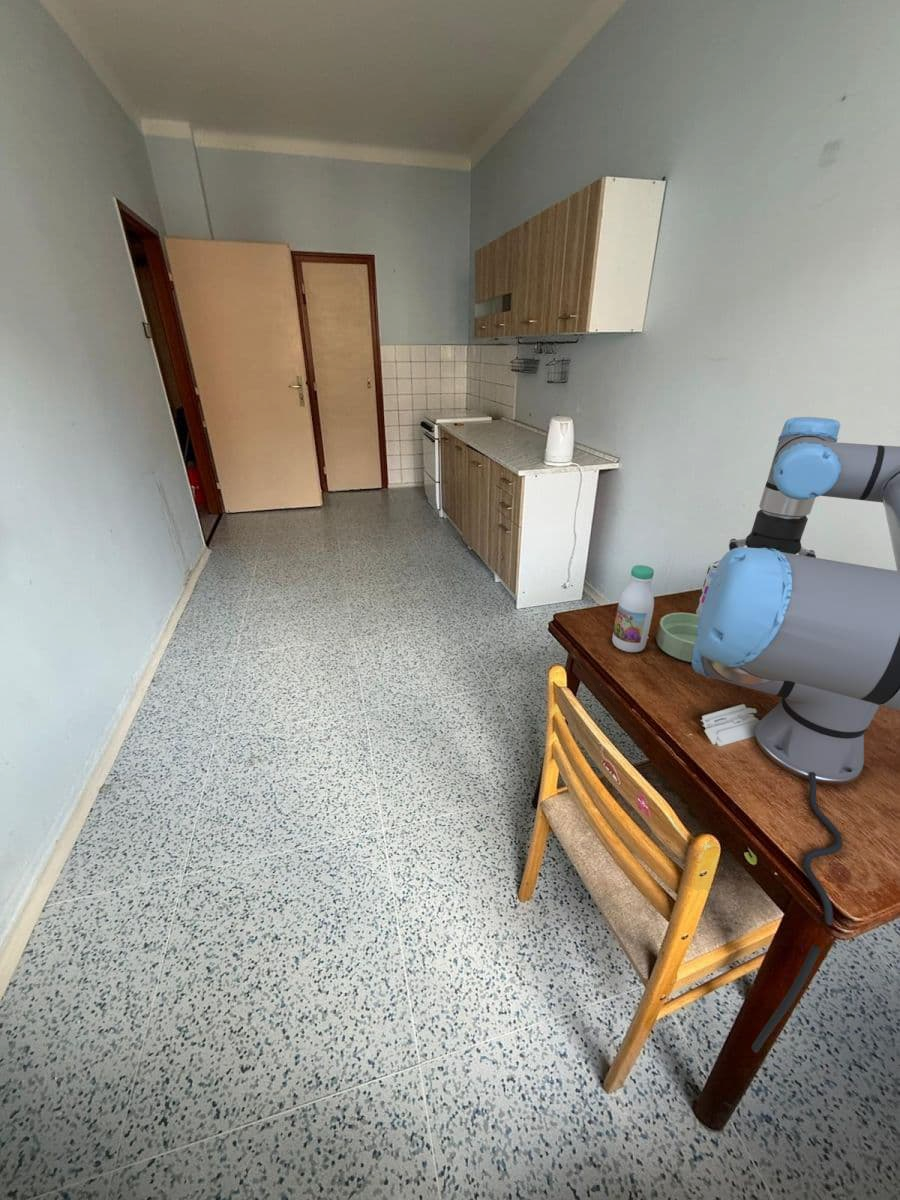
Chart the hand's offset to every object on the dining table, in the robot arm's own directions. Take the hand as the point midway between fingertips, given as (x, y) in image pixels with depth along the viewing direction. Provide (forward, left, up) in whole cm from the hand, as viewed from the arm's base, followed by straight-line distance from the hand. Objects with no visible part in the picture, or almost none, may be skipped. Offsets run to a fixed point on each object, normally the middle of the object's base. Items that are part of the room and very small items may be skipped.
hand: (745, 626), depth 93 cm
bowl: (+11, +9, -14) cm, 20 cm away
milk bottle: (+6, +21, -14) cm, 26 cm away
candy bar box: (+28, +5, -14) cm, 32 cm away
